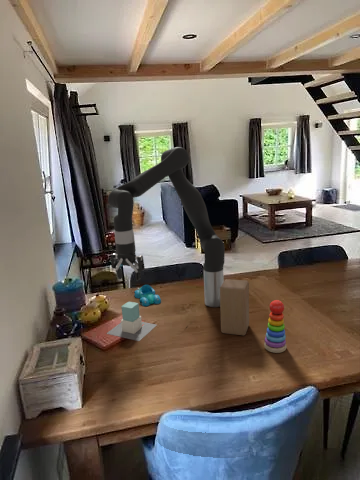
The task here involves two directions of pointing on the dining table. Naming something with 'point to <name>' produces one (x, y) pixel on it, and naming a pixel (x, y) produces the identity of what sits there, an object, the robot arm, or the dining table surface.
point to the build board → (137, 336)
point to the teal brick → (130, 311)
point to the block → (234, 306)
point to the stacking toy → (276, 329)
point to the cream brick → (131, 325)
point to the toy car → (147, 295)
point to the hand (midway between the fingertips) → (129, 279)
